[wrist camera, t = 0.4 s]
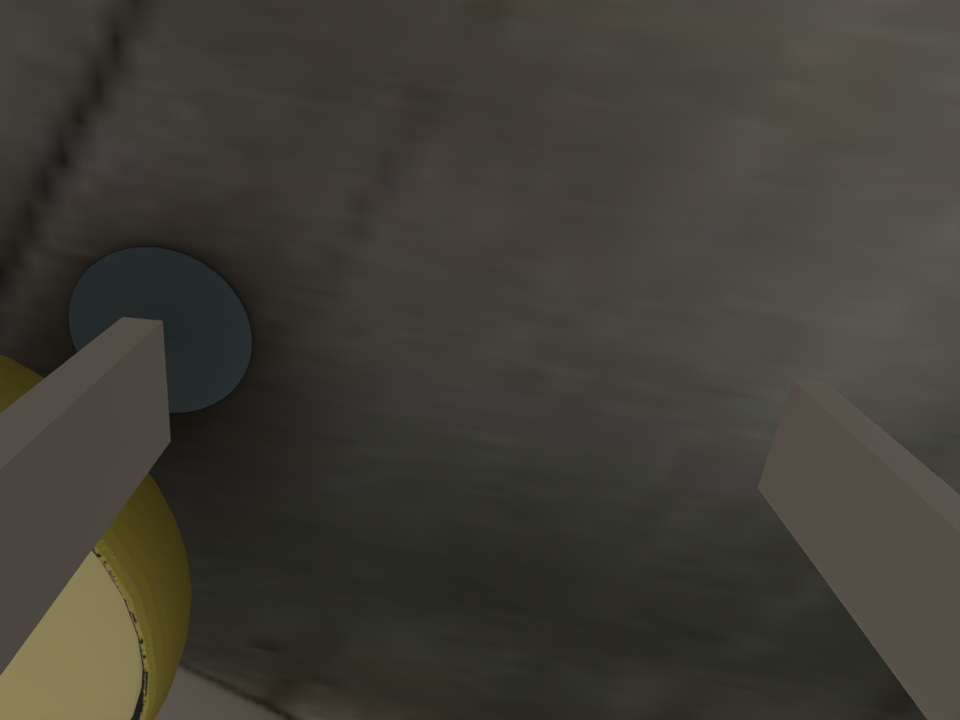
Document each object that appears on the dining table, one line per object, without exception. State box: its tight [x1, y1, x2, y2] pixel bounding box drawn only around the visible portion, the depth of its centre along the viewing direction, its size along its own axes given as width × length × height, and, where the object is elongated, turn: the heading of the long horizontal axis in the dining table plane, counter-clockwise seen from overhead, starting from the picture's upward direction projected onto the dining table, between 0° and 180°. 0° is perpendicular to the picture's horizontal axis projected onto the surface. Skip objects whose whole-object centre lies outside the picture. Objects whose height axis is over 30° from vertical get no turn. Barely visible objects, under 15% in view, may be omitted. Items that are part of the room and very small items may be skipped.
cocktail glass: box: [0, 247, 252, 720], centre depth 31 cm, size 18×18×25 cm
